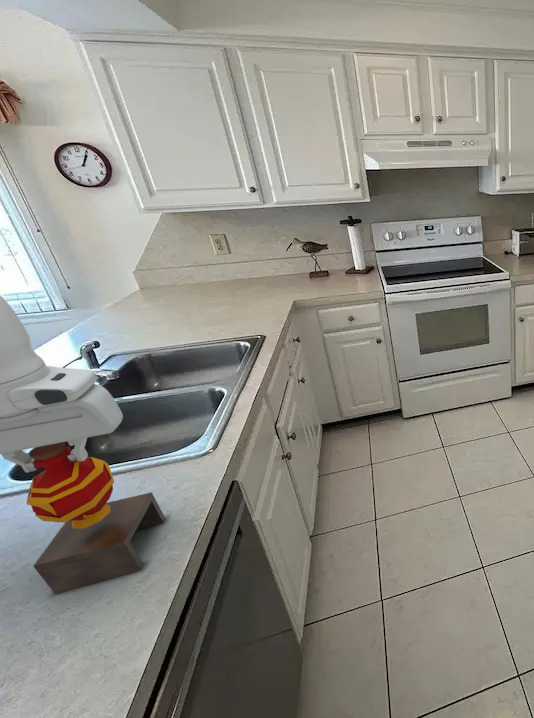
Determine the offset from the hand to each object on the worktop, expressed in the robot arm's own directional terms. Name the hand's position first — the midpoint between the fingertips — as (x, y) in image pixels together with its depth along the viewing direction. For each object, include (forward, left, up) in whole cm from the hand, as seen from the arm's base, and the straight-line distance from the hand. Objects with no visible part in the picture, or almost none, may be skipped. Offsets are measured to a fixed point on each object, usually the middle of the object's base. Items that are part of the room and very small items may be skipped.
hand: (58, 464), depth 66 cm
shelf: (0, 0, -21) cm, 21 cm away
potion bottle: (0, 0, -12) cm, 12 cm away
